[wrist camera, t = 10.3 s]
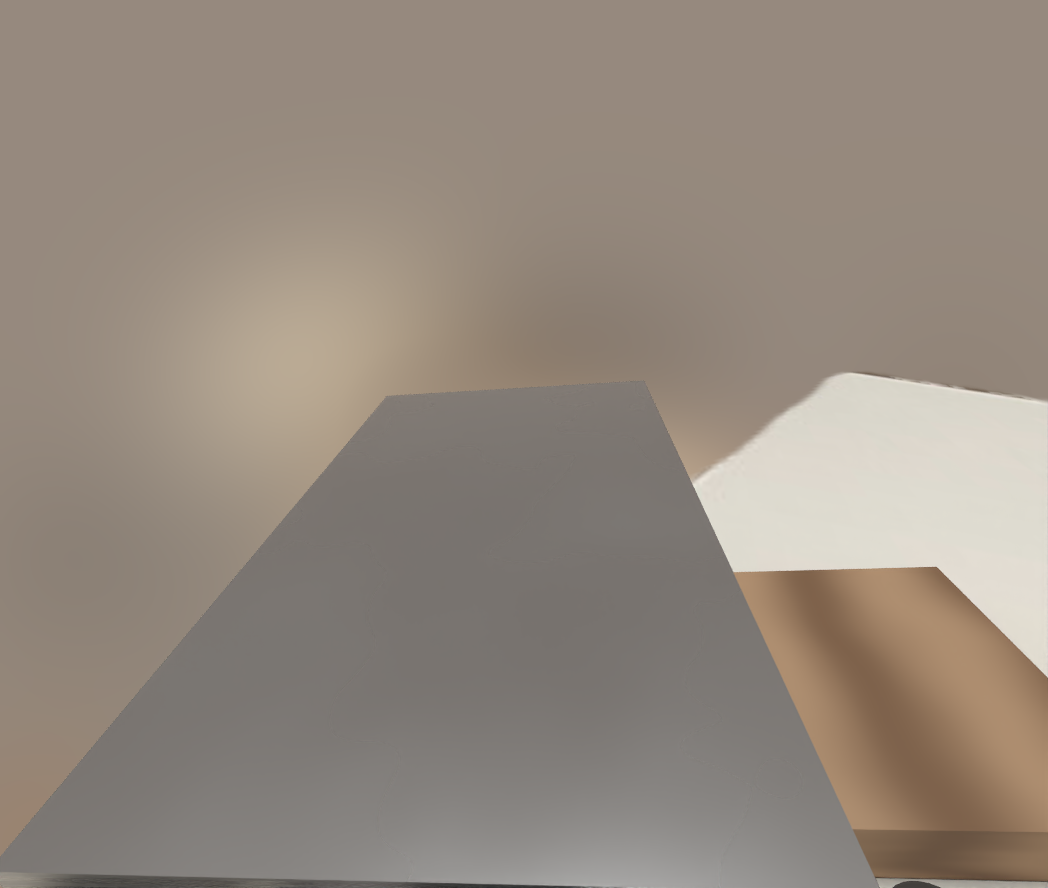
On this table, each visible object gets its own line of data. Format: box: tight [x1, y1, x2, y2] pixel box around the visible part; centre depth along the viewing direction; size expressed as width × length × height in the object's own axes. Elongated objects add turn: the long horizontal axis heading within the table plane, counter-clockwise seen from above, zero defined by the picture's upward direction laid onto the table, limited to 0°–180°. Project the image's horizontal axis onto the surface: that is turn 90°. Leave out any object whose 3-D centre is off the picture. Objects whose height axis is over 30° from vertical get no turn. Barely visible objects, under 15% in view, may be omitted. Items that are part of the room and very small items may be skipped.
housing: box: [0, 381, 880, 888], centre depth 9 cm, size 5×8×12 cm, turn 177°
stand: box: [733, 567, 1048, 881], centre depth 20 cm, size 11×11×2 cm
